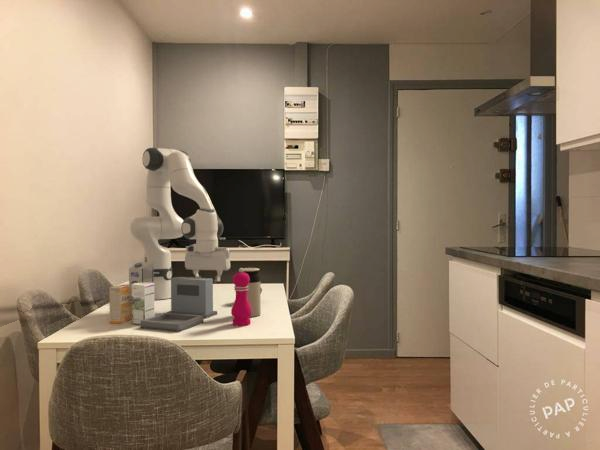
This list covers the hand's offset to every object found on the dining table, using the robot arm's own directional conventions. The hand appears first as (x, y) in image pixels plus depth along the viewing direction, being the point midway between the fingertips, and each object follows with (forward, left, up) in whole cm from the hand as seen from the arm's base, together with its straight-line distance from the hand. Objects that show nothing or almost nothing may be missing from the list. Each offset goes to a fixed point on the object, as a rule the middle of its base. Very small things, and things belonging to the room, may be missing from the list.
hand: (207, 280), depth 180 cm
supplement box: (-18, -29, -12) cm, 36 cm away
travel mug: (+22, -4, -12) cm, 25 cm away
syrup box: (-8, -29, -12) cm, 32 cm away
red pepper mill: (+26, -18, -12) cm, 33 cm away
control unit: (0, -11, -12) cm, 16 cm away
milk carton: (-23, -13, -12) cm, 29 cm away
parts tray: (+4, -28, -12) cm, 30 cm away
